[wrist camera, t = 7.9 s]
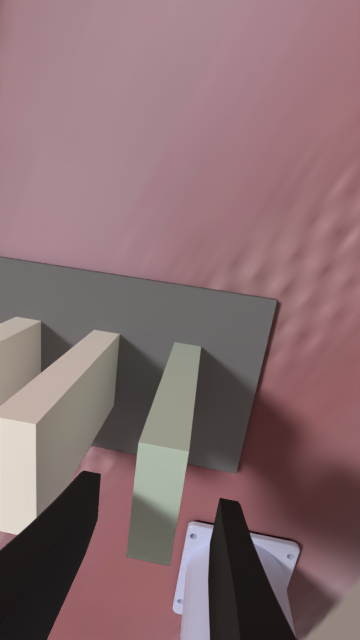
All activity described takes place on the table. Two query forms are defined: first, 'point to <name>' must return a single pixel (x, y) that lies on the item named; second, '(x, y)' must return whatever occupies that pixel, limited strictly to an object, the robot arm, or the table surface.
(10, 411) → the domino
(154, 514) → the domino
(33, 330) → the domino
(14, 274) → the charcoal mat
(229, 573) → the robot arm
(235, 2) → the table surface
